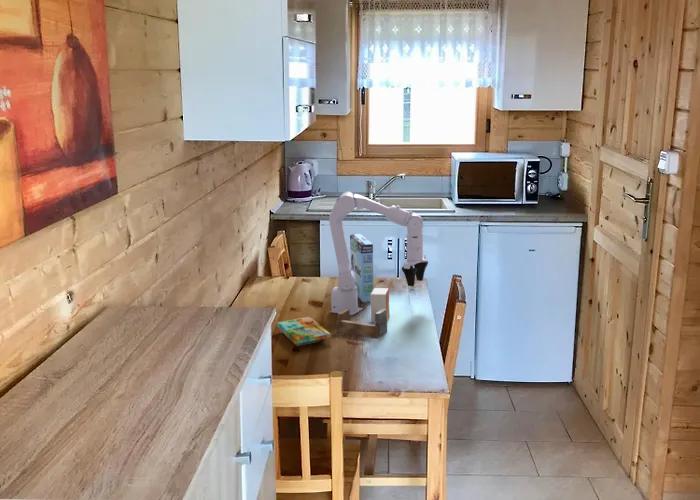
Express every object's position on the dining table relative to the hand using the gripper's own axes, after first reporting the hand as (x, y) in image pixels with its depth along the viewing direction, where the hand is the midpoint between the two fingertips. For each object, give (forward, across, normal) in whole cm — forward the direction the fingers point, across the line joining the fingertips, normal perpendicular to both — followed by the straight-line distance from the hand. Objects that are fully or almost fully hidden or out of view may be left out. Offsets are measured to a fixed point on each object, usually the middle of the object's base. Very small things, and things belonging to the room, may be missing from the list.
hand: (415, 283), depth 257 cm
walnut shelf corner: (+10, -28, +7) cm, 30 cm away
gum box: (+10, +8, +27) cm, 30 cm away
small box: (+10, -14, +7) cm, 19 cm away
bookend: (+10, -28, 0) cm, 30 cm away
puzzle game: (+11, -41, +22) cm, 48 cm away
